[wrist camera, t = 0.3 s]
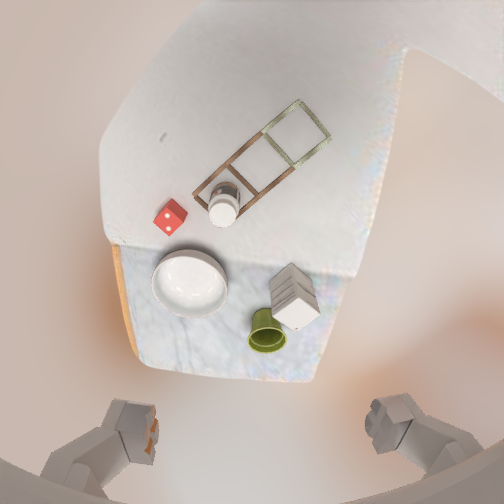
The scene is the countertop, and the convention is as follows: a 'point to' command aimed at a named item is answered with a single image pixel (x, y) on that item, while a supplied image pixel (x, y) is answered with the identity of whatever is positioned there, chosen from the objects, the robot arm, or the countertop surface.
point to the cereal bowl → (190, 284)
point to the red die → (170, 217)
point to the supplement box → (293, 298)
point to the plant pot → (266, 333)
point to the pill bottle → (224, 204)
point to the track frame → (276, 147)
